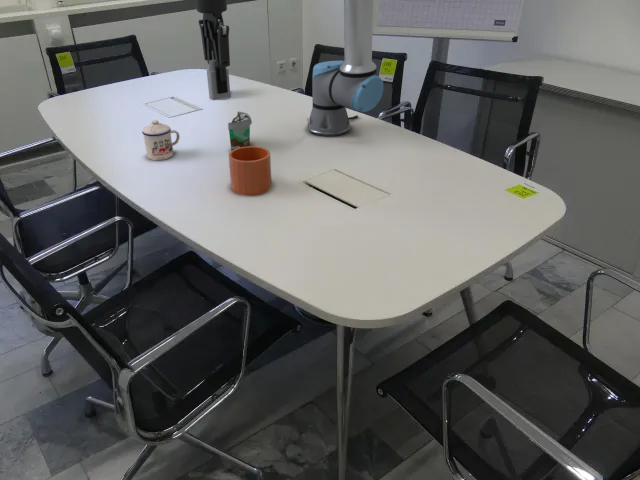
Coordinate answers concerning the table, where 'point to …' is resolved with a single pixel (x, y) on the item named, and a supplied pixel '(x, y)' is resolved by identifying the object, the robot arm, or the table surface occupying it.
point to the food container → (240, 130)
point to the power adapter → (213, 84)
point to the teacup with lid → (159, 140)
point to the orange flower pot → (250, 170)
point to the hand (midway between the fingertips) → (219, 90)
